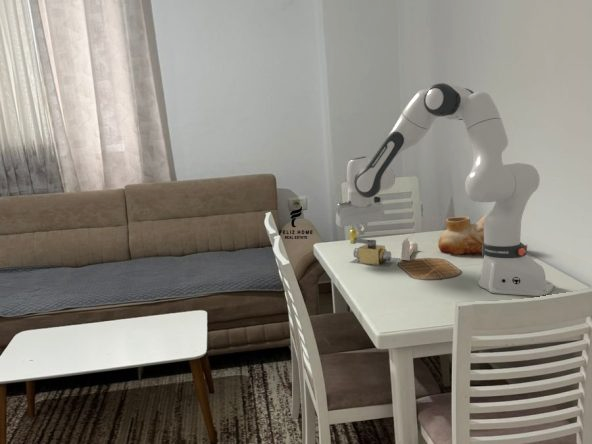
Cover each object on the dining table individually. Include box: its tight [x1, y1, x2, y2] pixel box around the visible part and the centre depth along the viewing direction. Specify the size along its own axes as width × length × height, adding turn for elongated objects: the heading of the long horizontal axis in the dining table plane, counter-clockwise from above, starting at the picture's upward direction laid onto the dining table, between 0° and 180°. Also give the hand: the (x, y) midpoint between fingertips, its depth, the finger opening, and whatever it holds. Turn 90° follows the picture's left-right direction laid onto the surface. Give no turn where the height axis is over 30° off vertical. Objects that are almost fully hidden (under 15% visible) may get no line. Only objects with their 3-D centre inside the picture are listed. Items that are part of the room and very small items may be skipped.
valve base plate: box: [349, 257, 401, 268], centre depth 235 cm, size 16×12×1 cm
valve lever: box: [349, 229, 377, 247], centre depth 234 cm, size 11×3×6 cm, turn 54°
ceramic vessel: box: [437, 213, 488, 257], centre depth 240 cm, size 14×26×15 cm, turn 82°
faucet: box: [400, 235, 419, 262], centre depth 240 cm, size 4×18×10 cm, turn 158°
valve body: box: [353, 244, 392, 266], centre depth 233 cm, size 14×6×6 cm, turn 57°
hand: (360, 234), depth 238 cm, fingers closed
